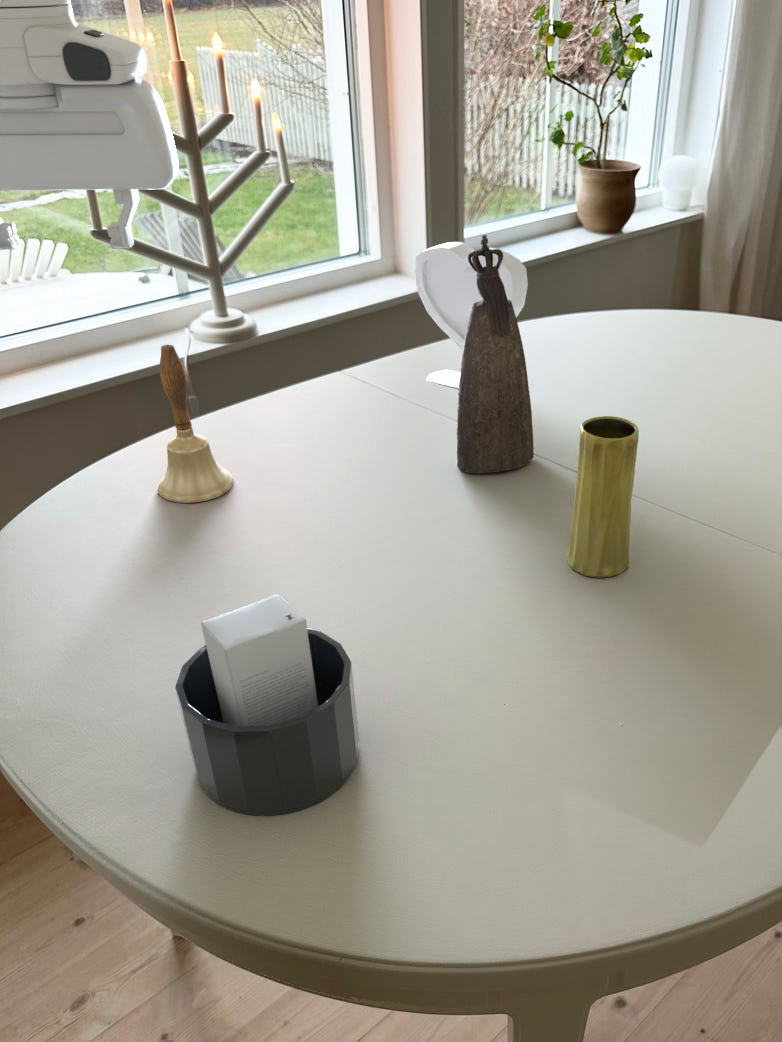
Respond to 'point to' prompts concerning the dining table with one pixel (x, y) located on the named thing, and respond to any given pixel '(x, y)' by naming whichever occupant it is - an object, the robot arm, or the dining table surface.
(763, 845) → the dining table surface
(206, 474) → the hand bell
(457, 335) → the heart sculpture
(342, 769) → the holder pot
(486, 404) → the statue
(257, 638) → the cosmetic box
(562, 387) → the dining table surface
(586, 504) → the vase
